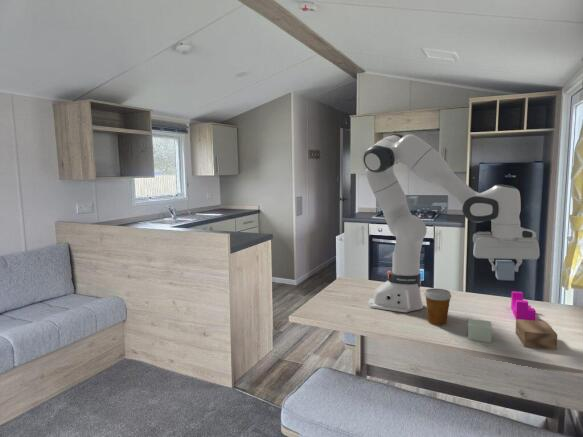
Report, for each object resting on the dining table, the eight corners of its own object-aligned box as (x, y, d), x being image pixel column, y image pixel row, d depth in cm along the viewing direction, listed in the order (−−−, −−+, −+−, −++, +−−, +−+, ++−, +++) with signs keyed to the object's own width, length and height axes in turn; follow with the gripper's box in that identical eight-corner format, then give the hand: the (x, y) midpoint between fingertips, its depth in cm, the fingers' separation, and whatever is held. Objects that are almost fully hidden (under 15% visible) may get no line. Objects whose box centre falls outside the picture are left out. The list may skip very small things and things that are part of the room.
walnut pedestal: (524, 346, 128) (524, 331, 128) (515, 333, 139) (516, 319, 139) (556, 349, 125) (557, 334, 125) (545, 335, 137) (545, 321, 136)
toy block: (535, 322, 149) (536, 303, 149) (516, 321, 152) (516, 301, 151) (528, 310, 163) (529, 292, 162) (511, 308, 166) (511, 291, 165)
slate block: (497, 279, 138) (498, 262, 137) (495, 276, 143) (495, 259, 142) (514, 280, 136) (514, 263, 136) (511, 276, 141) (511, 260, 140)
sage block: (468, 339, 135) (468, 325, 134) (468, 332, 141) (468, 318, 141) (491, 343, 132) (491, 328, 132) (490, 335, 138) (490, 321, 138)
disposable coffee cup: (453, 327, 145) (454, 295, 144) (426, 326, 147) (426, 294, 146) (448, 318, 155) (448, 288, 154) (422, 317, 156) (422, 287, 155)
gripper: (473, 232, 138) (473, 272, 139) (541, 233, 132) (540, 274, 133) (471, 230, 144) (471, 268, 145) (536, 230, 137) (535, 270, 139)
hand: (505, 271), depth 139 cm, fingers closed on slate block, 5 cm apart
